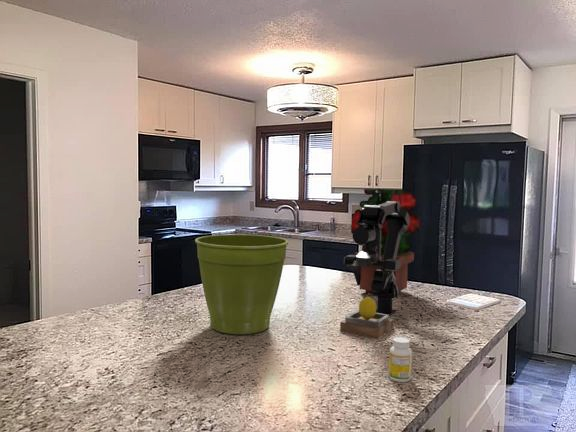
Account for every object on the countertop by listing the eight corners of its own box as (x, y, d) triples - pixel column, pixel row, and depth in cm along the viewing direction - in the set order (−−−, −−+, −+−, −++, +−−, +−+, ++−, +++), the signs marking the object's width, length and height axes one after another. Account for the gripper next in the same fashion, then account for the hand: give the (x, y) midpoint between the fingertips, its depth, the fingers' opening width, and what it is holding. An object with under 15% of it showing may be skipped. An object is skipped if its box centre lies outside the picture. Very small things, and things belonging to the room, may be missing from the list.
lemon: (375, 323, 153) (376, 299, 153) (358, 322, 155) (358, 297, 154) (376, 318, 159) (376, 295, 158) (359, 317, 160) (359, 293, 159)
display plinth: (356, 321, 166) (357, 308, 166) (393, 328, 159) (393, 314, 159) (340, 331, 155) (340, 317, 155) (378, 338, 148) (378, 324, 148)
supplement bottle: (404, 384, 115) (406, 345, 114) (384, 378, 118) (386, 340, 118) (414, 377, 119) (416, 339, 118) (395, 371, 122) (396, 334, 122)
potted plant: (416, 291, 213) (420, 189, 210) (399, 301, 195) (403, 190, 192) (369, 285, 225) (372, 188, 222) (349, 293, 207) (352, 188, 203)
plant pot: (176, 334, 149) (176, 241, 146) (221, 310, 176) (222, 232, 174) (265, 347, 138) (266, 248, 136) (298, 320, 166) (300, 237, 164)
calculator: (500, 303, 198) (500, 298, 198) (476, 311, 184) (476, 306, 184) (469, 296, 208) (469, 292, 208) (444, 304, 194) (445, 299, 194)
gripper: (337, 241, 163) (335, 287, 164) (390, 246, 153) (388, 295, 154) (351, 238, 172) (349, 282, 173) (401, 243, 162) (400, 289, 163)
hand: (370, 287), depth 166 cm, fingers open, 9 cm apart
